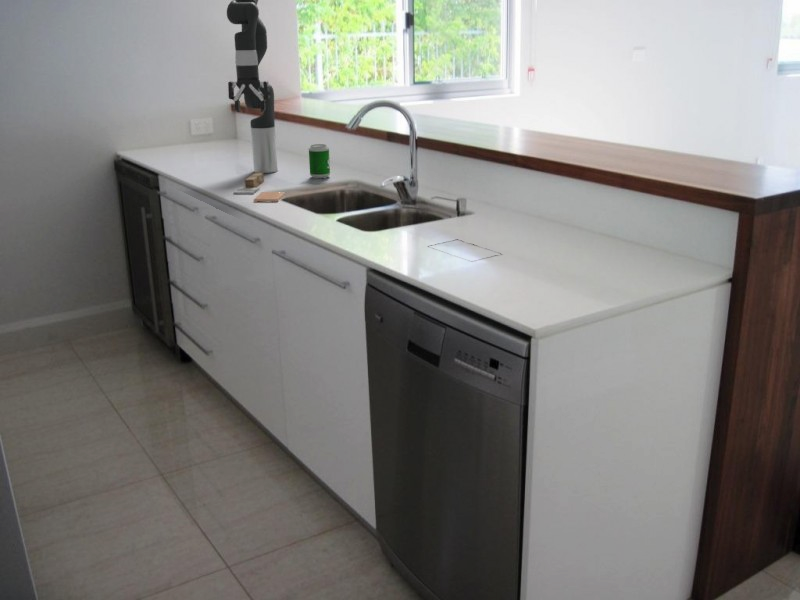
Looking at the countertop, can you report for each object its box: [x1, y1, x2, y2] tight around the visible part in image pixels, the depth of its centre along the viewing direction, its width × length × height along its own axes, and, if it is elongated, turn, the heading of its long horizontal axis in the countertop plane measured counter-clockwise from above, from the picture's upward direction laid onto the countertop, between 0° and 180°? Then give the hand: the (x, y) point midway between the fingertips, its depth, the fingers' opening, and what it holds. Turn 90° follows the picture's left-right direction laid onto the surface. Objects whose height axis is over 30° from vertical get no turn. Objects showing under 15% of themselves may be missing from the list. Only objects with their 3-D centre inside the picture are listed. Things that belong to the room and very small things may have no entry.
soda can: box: [308, 143, 331, 179], centre depth 297 cm, size 8×8×12 cm
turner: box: [233, 172, 265, 195], centre depth 282 cm, size 22×7×4 cm, turn 175°
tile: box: [253, 191, 286, 203], centre depth 265 cm, size 2×8×11 cm
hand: (250, 111), depth 279 cm, fingers open, 8 cm apart
